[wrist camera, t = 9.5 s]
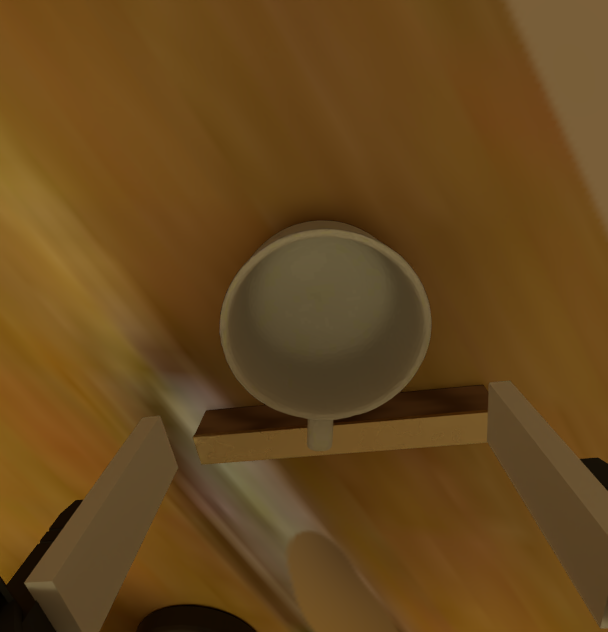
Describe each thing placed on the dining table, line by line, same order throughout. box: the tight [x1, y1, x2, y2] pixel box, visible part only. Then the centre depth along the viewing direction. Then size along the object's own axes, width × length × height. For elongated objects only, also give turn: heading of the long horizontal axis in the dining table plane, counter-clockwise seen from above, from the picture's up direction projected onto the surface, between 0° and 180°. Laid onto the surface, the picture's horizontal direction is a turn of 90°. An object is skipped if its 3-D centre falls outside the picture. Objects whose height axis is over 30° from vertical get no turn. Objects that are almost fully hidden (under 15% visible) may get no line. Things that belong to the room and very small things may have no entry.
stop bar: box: [193, 385, 489, 464], centre depth 28 cm, size 22×3×3 cm, turn 98°
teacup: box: [220, 220, 432, 451], centre depth 23 cm, size 14×11×8 cm
